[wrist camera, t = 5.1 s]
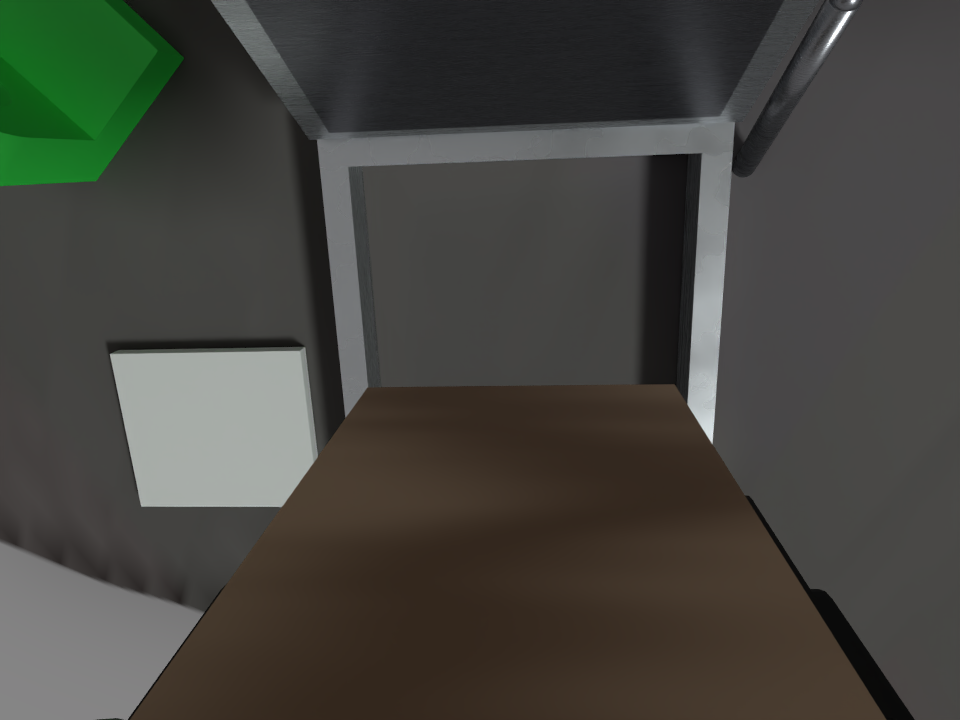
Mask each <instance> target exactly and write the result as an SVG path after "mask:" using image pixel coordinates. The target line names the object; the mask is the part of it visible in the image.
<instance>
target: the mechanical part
mask: <svg viewBox="0 0 960 720" xmlns="http://www.w3.org/2000/svg"><path fill="white" fill-rule="evenodd" d="M183 60H184V57H183V56H182V55H180V54H179V53H178V52H177V51H176V50H175V49H174V48H173V47H172V46H171V45H170V44H169V43H168V42H167V41H166V40H164V39H163V38H162V37H161V36H160V35H159V34H158V33H157V32H156V31H155V30H154V29H153V28H152V27H151V26H150V25H148V24H147V23H146V22H145V21H144V20H143V19H142V18H141V17H140V16H139V15H138V14H137V13H136V12H135V11H134V10H133V9H131V8H130V7H129V6H128V5H127V4H126V3H125V2H124V1H123V0H0V186H9V185H28V184H48V183H67V182H87V181H97V179H98V178H99V176H100V175H101V174H102V172H103V171H104V170H105V168H106V167H107V165H108V164H109V163H110V161H111V160H112V158H113V157H114V156H115V154H116V153H117V151H118V150H119V149H120V147H121V146H122V144H123V143H124V142H125V140H126V139H127V137H128V136H129V135H130V133H131V132H132V131H133V129H134V128H135V126H136V125H137V124H138V122H139V121H140V119H141V118H142V117H143V115H144V114H145V112H146V111H147V110H148V108H149V107H150V105H151V104H152V103H153V101H154V100H155V98H156V97H157V96H158V94H159V93H160V92H161V90H162V89H163V87H164V86H165V85H166V83H167V82H168V80H169V79H170V78H171V76H172V75H173V73H174V72H175V71H176V69H177V68H178V66H179V65H180V64H181V62H182V61H183Z"/></svg>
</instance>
